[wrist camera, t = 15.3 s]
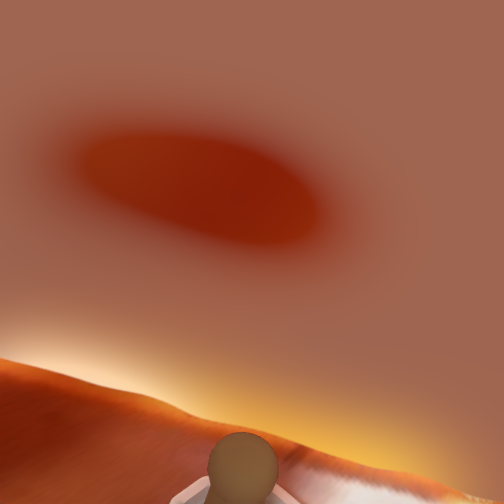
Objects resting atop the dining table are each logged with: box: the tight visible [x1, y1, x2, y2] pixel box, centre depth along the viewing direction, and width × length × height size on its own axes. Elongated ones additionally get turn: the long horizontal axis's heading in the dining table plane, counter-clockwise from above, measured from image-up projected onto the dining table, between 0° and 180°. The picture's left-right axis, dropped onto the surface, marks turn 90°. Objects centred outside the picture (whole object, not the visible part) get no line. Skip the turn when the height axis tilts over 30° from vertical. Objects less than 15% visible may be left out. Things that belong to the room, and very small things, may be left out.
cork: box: [204, 432, 278, 504], centre depth 37 cm, size 6×6×11 cm
